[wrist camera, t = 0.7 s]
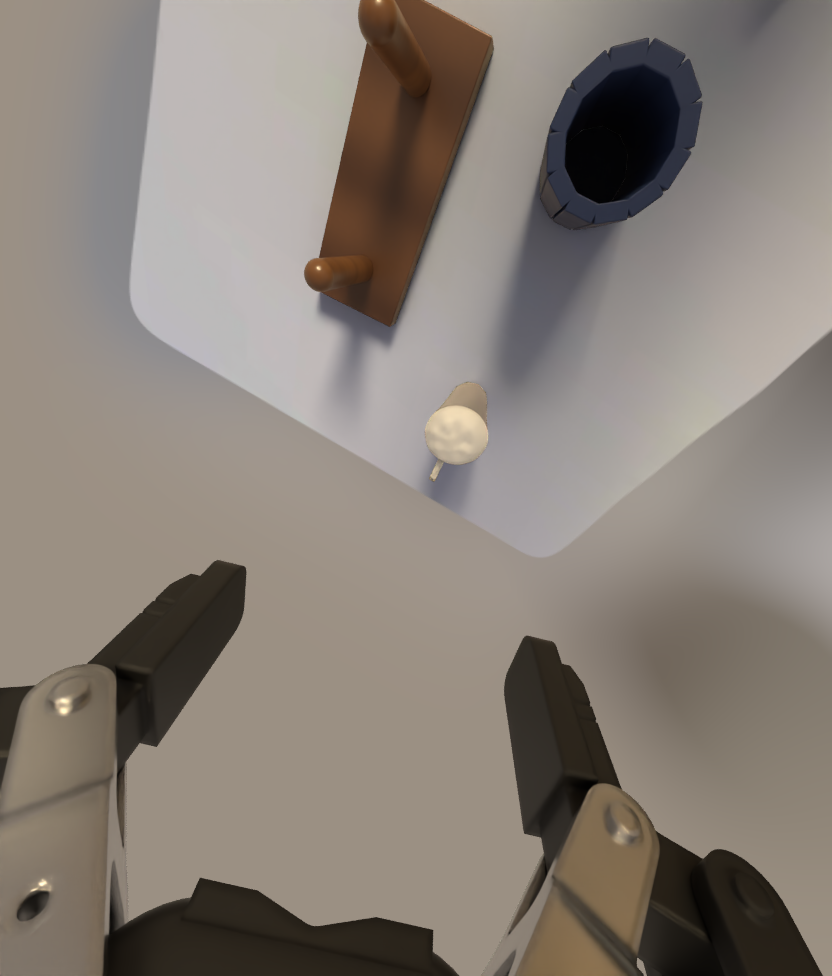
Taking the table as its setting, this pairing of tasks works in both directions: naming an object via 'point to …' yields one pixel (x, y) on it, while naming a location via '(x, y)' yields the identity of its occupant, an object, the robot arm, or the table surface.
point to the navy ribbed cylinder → (624, 129)
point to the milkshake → (458, 427)
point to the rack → (397, 150)
